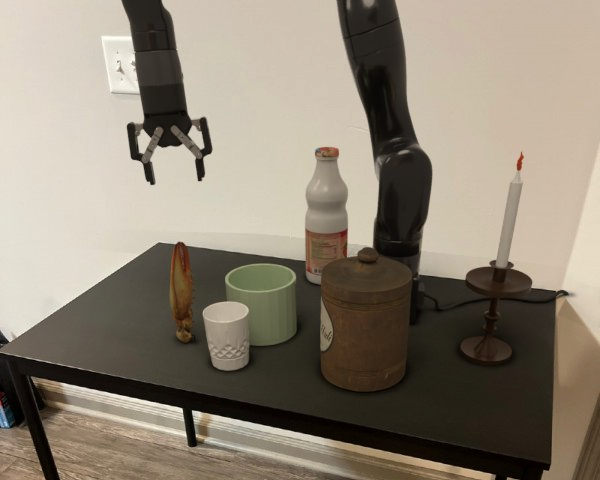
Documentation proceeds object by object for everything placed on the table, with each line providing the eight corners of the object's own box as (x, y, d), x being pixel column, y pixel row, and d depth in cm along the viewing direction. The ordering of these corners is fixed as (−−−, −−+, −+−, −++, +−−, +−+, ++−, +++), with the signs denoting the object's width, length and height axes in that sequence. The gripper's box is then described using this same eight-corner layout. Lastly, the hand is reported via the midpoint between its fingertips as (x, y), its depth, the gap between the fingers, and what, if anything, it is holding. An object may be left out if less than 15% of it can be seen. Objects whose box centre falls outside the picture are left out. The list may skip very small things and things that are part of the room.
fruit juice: (298, 274, 141) (296, 147, 125) (334, 266, 144) (336, 142, 128) (317, 289, 134) (317, 156, 118) (354, 281, 138) (358, 151, 122)
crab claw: (186, 354, 112) (171, 250, 100) (163, 349, 114) (145, 246, 102) (205, 337, 117) (193, 236, 106) (182, 332, 119) (168, 233, 107)
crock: (300, 315, 124) (300, 264, 118) (292, 347, 113) (290, 293, 107) (237, 312, 125) (233, 262, 119) (223, 344, 115) (217, 290, 108)
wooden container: (336, 342, 114) (338, 228, 102) (413, 356, 110) (425, 238, 97) (308, 383, 103) (306, 260, 91) (393, 400, 99) (404, 273, 86)
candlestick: (508, 374, 104) (553, 162, 84) (446, 359, 109) (476, 154, 89) (522, 346, 112) (566, 146, 92) (464, 333, 117) (495, 139, 97)
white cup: (234, 377, 105) (230, 326, 99) (199, 365, 109) (193, 315, 103) (260, 357, 111) (257, 307, 105) (226, 346, 114) (221, 297, 108)
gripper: (114, 86, 98) (134, 189, 106) (201, 79, 99) (215, 183, 107) (122, 84, 105) (140, 182, 113) (204, 78, 105) (216, 175, 113)
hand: (176, 182), depth 110 cm, fingers open, 8 cm apart
